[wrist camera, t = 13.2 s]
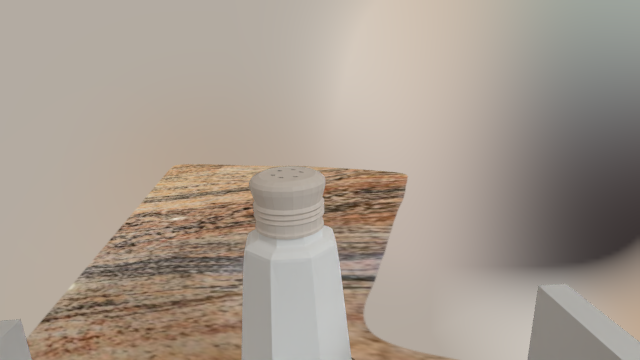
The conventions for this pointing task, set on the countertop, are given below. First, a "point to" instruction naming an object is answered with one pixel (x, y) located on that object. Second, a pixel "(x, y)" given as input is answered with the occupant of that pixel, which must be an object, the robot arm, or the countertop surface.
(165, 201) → the countertop surface
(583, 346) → the robot arm
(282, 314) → the salt shaker
